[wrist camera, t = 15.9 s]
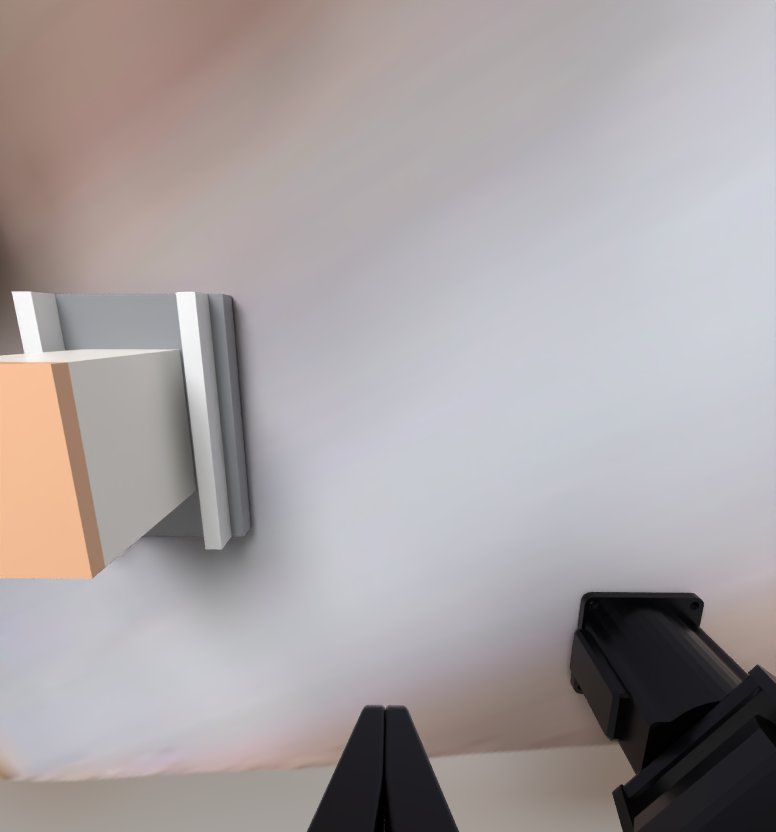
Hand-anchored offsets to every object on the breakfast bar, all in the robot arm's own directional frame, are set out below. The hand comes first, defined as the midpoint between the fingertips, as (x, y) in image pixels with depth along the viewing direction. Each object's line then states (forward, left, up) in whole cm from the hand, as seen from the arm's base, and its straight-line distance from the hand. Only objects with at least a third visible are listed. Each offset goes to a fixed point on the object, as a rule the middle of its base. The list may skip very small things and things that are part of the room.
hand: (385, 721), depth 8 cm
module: (+12, -3, -12) cm, 17 cm away
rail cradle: (+12, -3, -13) cm, 18 cm away
